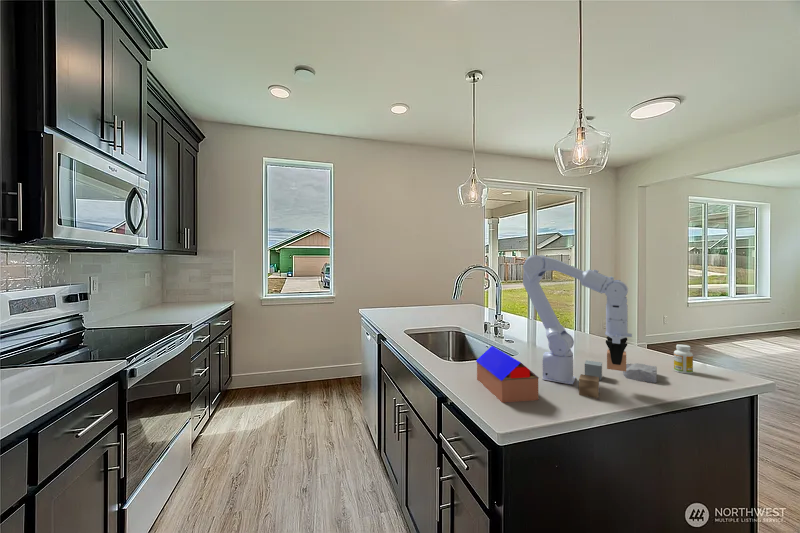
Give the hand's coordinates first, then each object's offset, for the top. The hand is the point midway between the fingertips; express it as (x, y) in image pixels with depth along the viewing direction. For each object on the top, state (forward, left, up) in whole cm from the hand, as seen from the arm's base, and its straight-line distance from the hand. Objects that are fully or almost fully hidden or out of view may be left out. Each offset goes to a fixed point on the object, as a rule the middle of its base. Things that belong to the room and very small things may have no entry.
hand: (616, 361), depth 105 cm
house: (-30, -18, -9) cm, 36 cm away
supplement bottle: (+20, +34, -9) cm, 40 cm away
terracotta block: (0, 0, -2) cm, 2 cm away
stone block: (+7, +20, -9) cm, 23 cm away
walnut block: (-7, -8, -9) cm, 14 cm away
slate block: (-7, +10, -9) cm, 15 cm away
